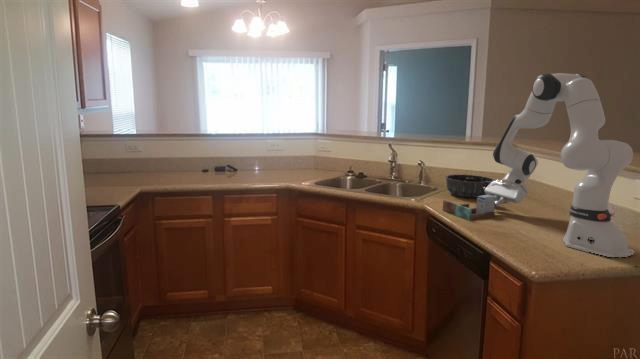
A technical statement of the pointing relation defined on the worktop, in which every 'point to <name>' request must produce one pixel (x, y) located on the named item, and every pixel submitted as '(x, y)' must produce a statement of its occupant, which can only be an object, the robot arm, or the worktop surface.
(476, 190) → the bundt pan
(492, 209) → the medicine box
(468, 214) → the slot comb
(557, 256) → the worktop surface
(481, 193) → the supplement bottle
